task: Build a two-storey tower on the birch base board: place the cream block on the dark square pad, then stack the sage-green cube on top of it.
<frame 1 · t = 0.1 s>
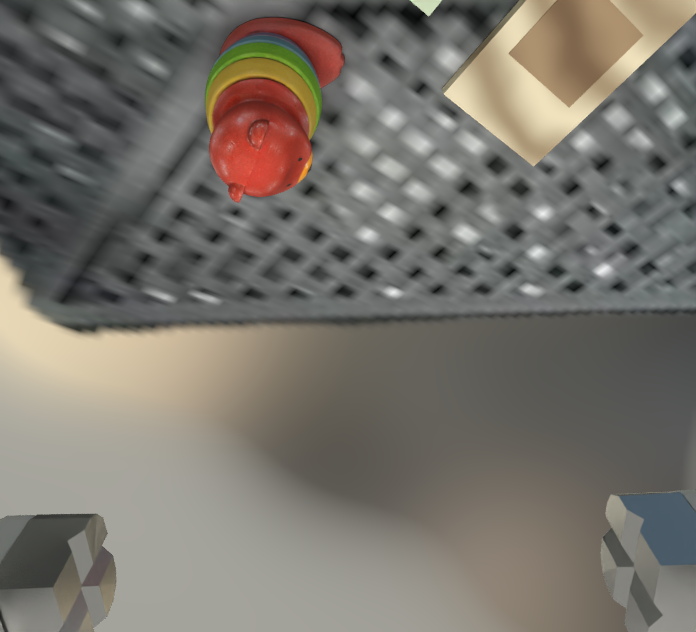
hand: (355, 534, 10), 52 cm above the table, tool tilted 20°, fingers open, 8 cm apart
base board: (571, 39, 56), on the table
stacking bear: (274, 71, 58), on the table
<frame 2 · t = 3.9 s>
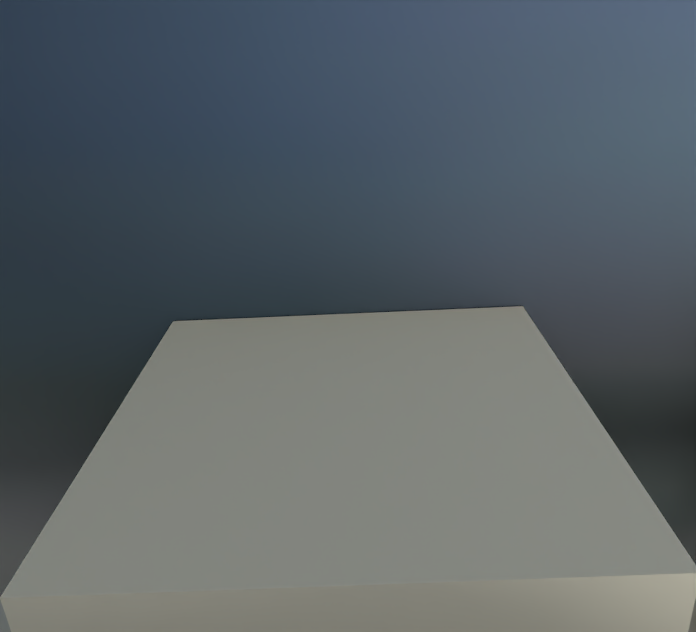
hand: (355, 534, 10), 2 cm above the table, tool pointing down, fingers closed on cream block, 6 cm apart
cream block: (354, 459, 12), on the table, touching gripper
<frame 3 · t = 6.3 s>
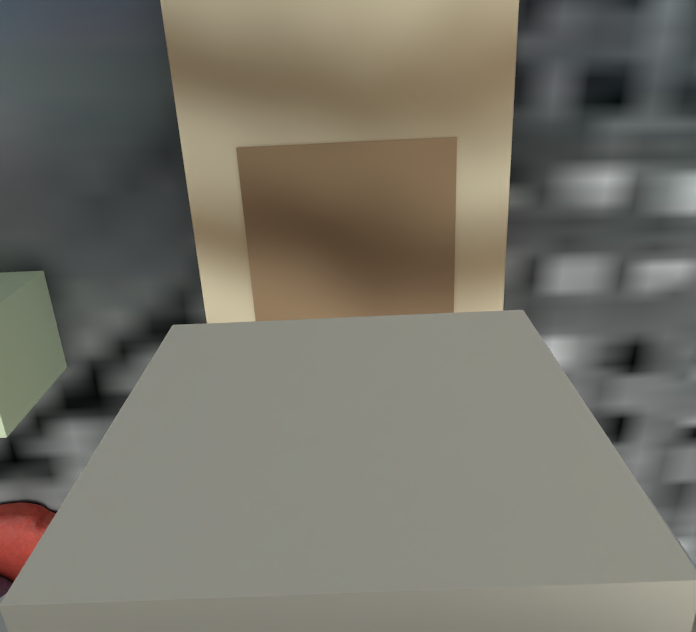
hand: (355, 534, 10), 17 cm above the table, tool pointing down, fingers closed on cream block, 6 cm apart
base board: (351, 239, 26), on the table
sage cube: (4, 322, 28), on the table
cream block: (354, 463, 12), point 15 cm above the table, touching gripper
stacking bear: (3, 587, 34), on the table
when the fingers open (4 cm above the table, at t = 9.1 s): cream block stays where it is, resting on base board.
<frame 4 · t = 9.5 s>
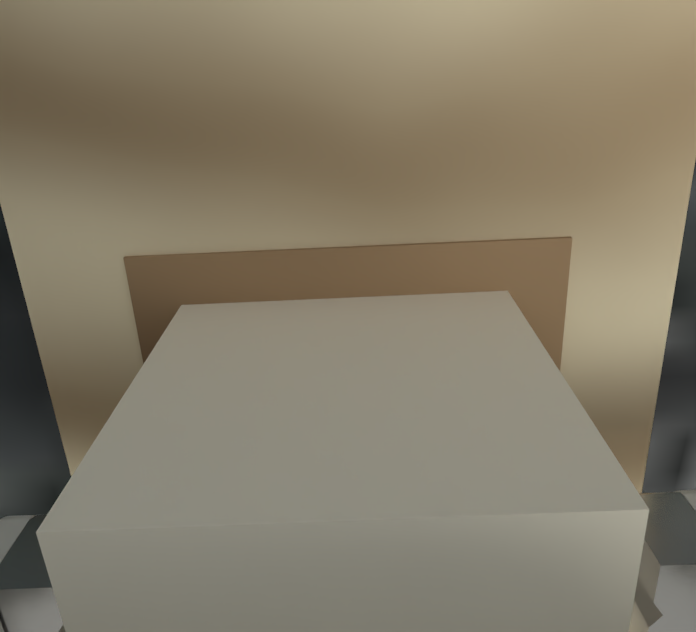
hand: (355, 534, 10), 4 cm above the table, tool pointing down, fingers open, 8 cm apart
base board: (355, 405, 14), on the table
cream block: (351, 436, 13), point 1 cm above the table, touching base board
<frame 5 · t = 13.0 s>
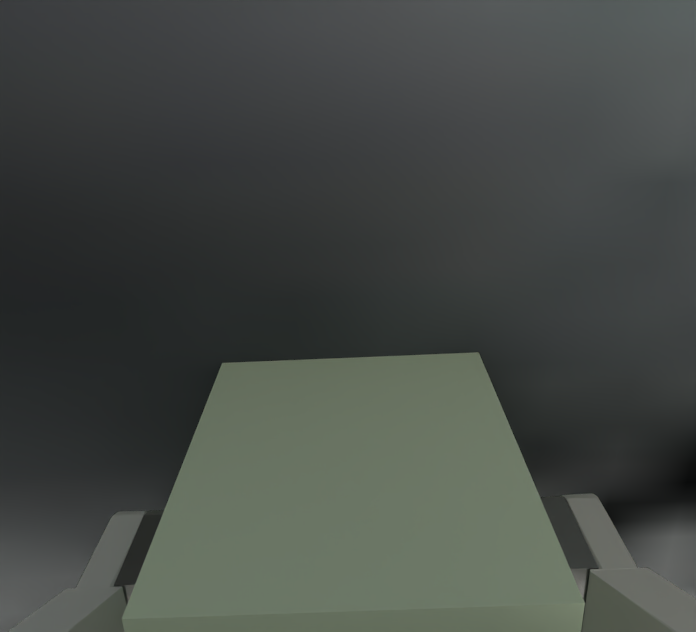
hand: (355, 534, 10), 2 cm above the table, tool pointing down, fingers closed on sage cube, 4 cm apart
sage cube: (355, 463, 12), on the table, touching gripper
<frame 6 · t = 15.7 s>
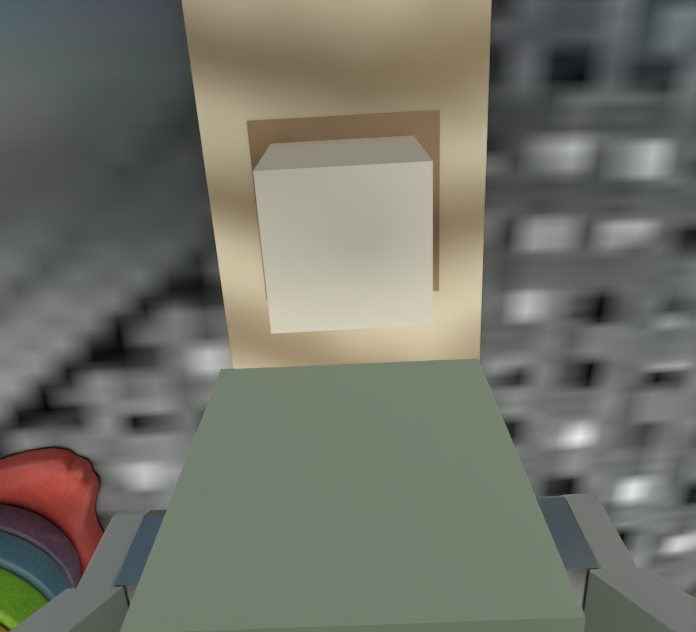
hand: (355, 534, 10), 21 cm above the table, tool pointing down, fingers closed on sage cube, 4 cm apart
base board: (347, 203, 29), on the table
sage cube: (354, 470, 12), point 19 cm above the table, touching gripper
cream block: (345, 209, 28), point 1 cm above the table, touching base board
stacking bear: (34, 529, 37), on the table
when the fingers open (10 cm above the table, at t = 18.0 s): sage cube stays where it is, resting on cream block.
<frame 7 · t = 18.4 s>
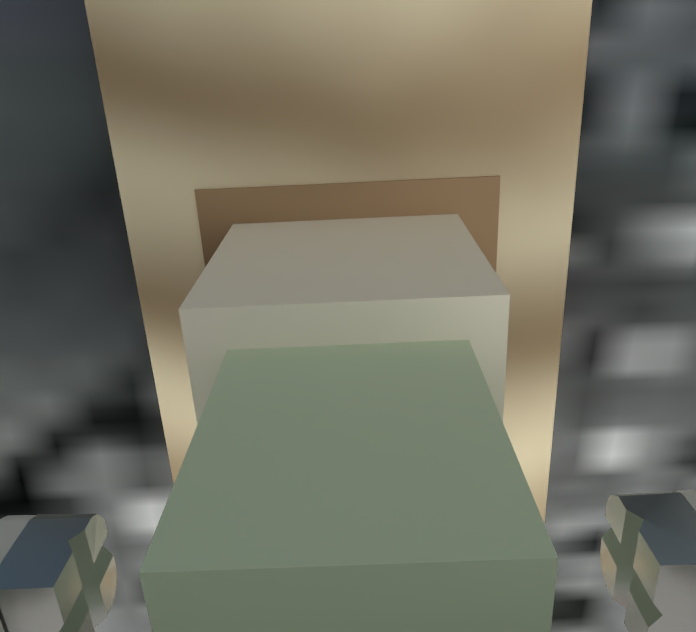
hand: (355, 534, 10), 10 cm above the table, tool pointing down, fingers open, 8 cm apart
base board: (353, 306, 20), on the table
sage cube: (352, 446, 13), point 7 cm above the table, touching cream block
cream block: (350, 322, 18), point 1 cm above the table, touching base board, sage cube
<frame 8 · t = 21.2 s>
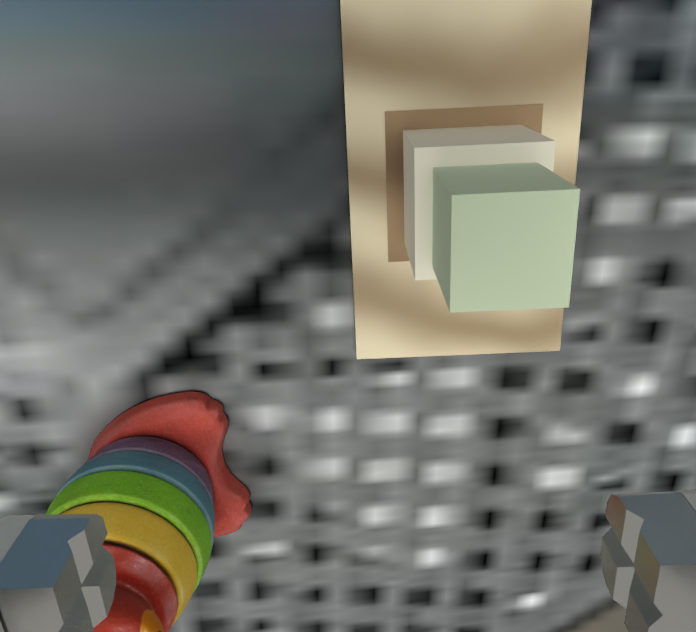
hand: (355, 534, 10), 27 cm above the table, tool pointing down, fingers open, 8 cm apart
base board: (458, 181, 35), on the table
sage cube: (483, 215, 29), point 7 cm above the table, touching cream block
cream block: (460, 185, 34), point 1 cm above the table, touching base board, sage cube
stacking bear: (166, 464, 43), on the table
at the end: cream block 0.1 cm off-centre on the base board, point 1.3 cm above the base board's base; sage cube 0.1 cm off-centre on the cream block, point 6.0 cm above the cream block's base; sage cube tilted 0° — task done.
